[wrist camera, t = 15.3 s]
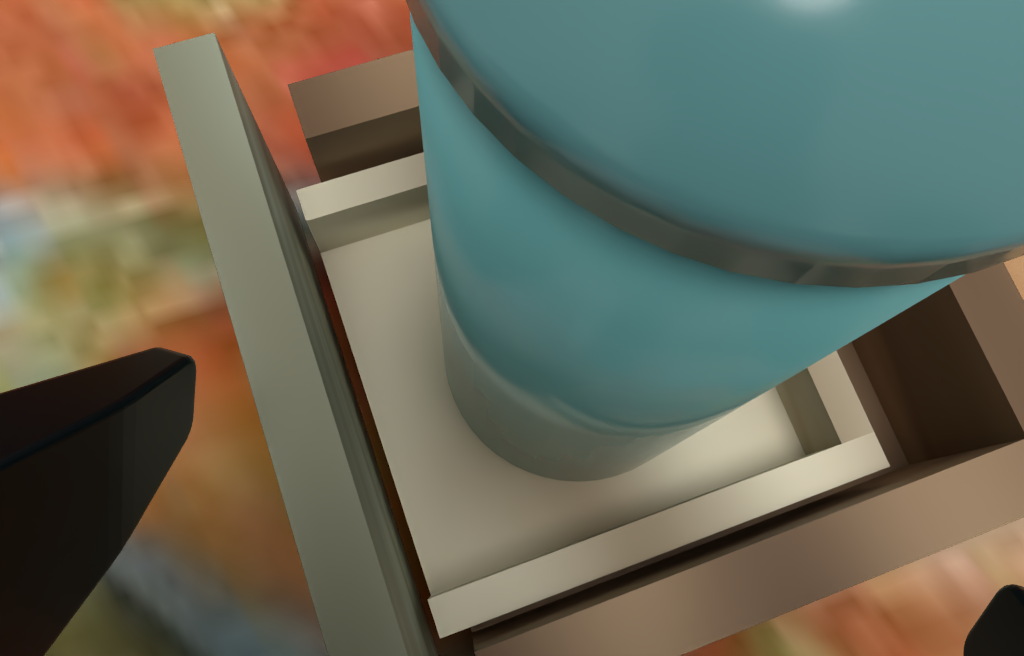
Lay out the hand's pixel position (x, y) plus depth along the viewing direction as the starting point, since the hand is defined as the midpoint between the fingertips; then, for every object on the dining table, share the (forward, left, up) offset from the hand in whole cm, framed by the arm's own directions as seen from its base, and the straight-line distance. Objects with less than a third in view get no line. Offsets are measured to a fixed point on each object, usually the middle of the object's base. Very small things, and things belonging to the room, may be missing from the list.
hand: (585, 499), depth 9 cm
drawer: (+2, +3, -10) cm, 11 cm away
